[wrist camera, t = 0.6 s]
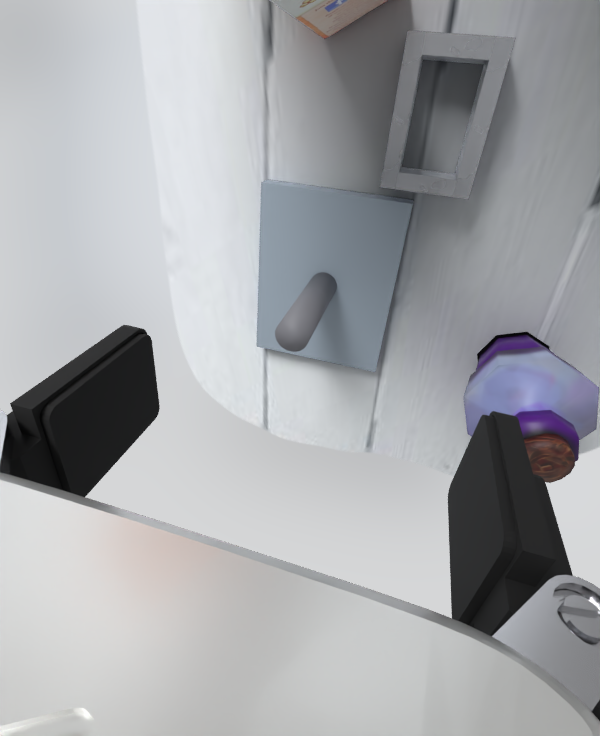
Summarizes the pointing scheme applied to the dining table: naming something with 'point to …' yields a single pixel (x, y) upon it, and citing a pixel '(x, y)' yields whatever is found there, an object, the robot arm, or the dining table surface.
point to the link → (495, 62)
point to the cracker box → (327, 13)
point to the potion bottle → (534, 400)
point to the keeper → (327, 271)
